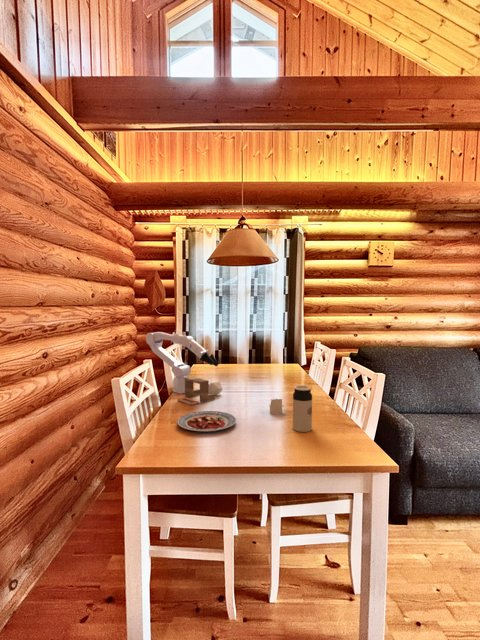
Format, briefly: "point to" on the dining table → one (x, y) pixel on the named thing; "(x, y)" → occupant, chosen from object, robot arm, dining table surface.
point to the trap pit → (188, 401)
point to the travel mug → (302, 408)
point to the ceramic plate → (206, 421)
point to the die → (215, 388)
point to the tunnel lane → (203, 389)
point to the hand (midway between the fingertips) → (215, 364)
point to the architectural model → (276, 406)
